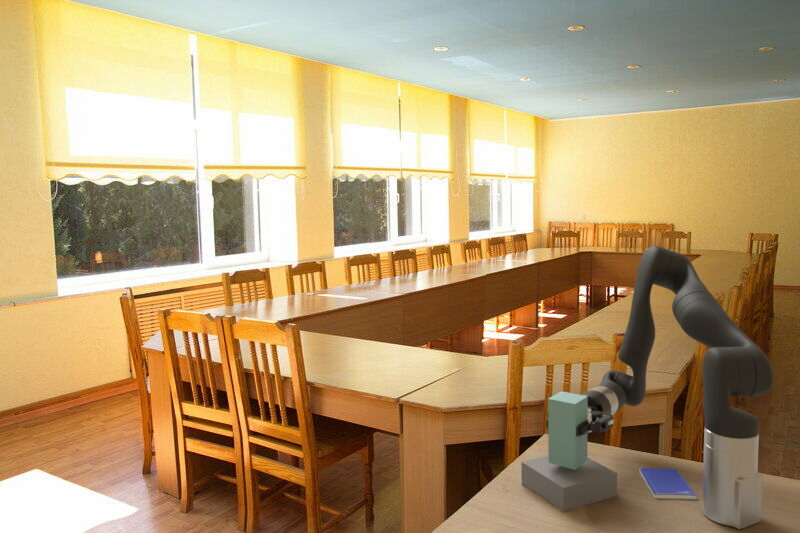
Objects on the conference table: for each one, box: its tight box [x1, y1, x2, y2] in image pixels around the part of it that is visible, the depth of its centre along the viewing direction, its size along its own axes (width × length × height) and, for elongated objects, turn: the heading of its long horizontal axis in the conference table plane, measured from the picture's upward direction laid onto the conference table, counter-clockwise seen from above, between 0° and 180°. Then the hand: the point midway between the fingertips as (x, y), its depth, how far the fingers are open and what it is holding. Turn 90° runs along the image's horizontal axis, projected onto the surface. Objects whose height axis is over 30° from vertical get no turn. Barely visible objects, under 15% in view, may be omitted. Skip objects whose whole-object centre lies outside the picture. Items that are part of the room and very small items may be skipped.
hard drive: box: [639, 467, 697, 500], centre depth 136 cm, size 2×8×12 cm
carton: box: [547, 390, 588, 470], centre depth 134 cm, size 6×6×14 cm
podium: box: [521, 455, 618, 513], centre depth 135 cm, size 14×14×5 cm
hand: (563, 428), depth 132 cm, fingers closed on carton, 6 cm apart
